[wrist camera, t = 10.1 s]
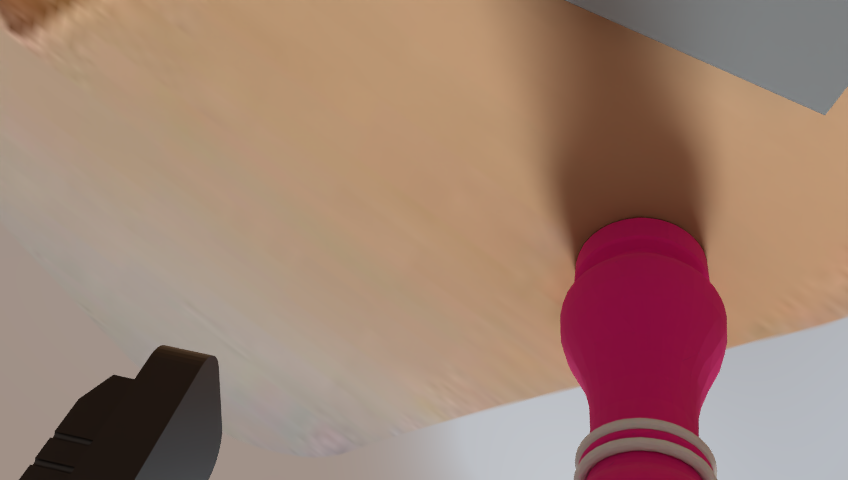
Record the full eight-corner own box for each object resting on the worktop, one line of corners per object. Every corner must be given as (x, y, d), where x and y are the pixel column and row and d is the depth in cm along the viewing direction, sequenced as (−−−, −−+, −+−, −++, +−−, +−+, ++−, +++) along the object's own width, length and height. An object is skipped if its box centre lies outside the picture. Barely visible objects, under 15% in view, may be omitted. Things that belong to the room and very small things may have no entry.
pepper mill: (741, 299, 39) (820, 729, 23) (605, 341, 42) (591, 744, 26) (681, 184, 36) (723, 583, 20) (540, 239, 40) (480, 620, 23)
